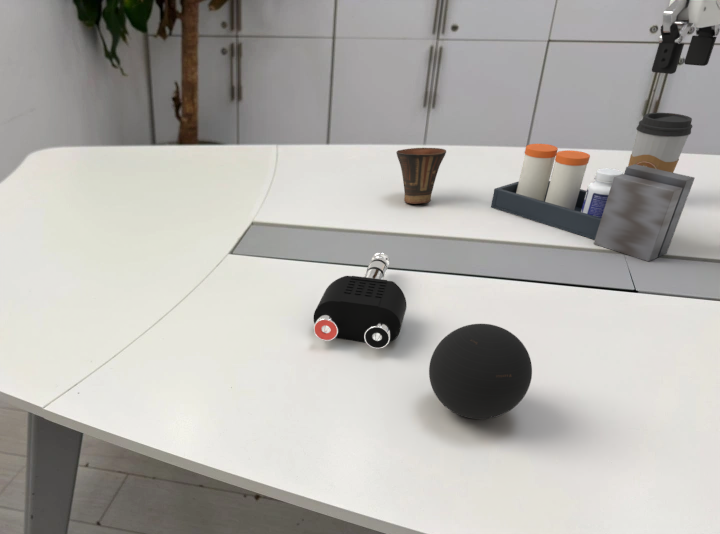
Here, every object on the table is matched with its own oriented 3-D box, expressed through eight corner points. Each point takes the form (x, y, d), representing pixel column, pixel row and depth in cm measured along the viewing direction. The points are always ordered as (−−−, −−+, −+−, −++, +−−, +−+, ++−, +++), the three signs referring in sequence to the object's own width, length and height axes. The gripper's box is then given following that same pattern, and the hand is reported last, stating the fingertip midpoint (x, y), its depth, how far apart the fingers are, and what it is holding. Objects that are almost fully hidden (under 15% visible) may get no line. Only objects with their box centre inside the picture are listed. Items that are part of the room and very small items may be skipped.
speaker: (452, 374, 79) (468, 298, 74) (536, 409, 73) (560, 329, 67) (404, 410, 74) (417, 330, 68) (490, 451, 67) (512, 367, 62)
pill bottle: (619, 226, 114) (636, 174, 110) (592, 230, 113) (608, 177, 109) (596, 216, 119) (612, 165, 114) (571, 219, 118) (585, 168, 113)
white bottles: (579, 212, 120) (596, 154, 115) (562, 219, 118) (578, 160, 112) (524, 197, 128) (537, 142, 123) (507, 202, 126) (519, 146, 120)
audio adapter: (309, 307, 83) (347, 235, 102) (307, 345, 86) (344, 268, 105) (400, 320, 79) (422, 243, 99) (394, 359, 82) (416, 276, 102)
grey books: (666, 253, 106) (695, 177, 99) (648, 261, 104) (676, 184, 97) (611, 236, 112) (634, 164, 105) (593, 244, 110) (615, 170, 103)
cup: (413, 190, 135) (420, 139, 129) (448, 202, 129) (457, 148, 123) (380, 199, 131) (386, 146, 126) (415, 211, 125) (422, 156, 119)
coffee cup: (607, 201, 126) (632, 118, 118) (624, 191, 131) (650, 109, 122) (655, 212, 121) (686, 125, 113) (672, 200, 125) (702, 116, 117)
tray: (640, 226, 116) (646, 206, 114) (601, 242, 110) (607, 221, 108) (529, 194, 131) (533, 176, 129) (490, 207, 126) (494, 188, 124)
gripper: (721, -66, 87) (676, 78, 96) (779, -70, 94) (733, 64, 104) (660, -63, 92) (624, 73, 101) (720, -67, 100) (681, 60, 109)
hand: (679, 68), depth 102 cm, fingers open, 9 cm apart
